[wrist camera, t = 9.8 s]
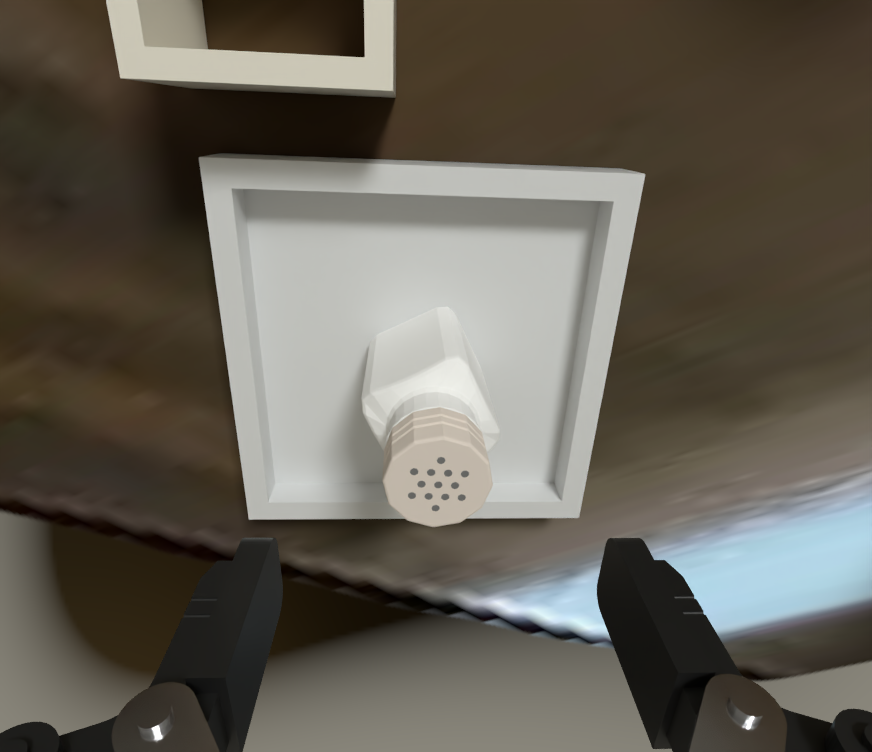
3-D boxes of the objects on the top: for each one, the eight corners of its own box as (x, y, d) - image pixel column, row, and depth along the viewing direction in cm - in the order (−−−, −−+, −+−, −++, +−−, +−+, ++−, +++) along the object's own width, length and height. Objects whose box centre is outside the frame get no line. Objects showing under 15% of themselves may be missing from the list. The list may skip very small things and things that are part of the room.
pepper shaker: (448, 296, 23) (474, 402, 14) (484, 373, 25) (526, 508, 16) (365, 335, 24) (343, 459, 15) (405, 407, 25) (406, 556, 17)
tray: (620, 168, 22) (645, 173, 20) (565, 486, 29) (578, 517, 27) (220, 153, 21) (198, 157, 19) (261, 487, 28) (249, 519, 26)
